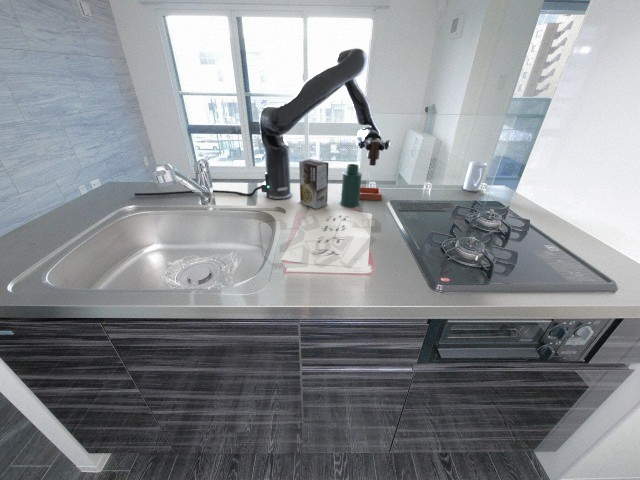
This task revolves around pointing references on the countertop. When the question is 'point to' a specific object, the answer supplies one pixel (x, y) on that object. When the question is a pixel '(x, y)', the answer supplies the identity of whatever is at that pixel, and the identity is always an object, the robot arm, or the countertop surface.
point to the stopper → (374, 151)
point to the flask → (351, 186)
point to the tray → (370, 193)
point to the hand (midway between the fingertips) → (375, 147)
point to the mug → (474, 175)
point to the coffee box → (313, 183)
